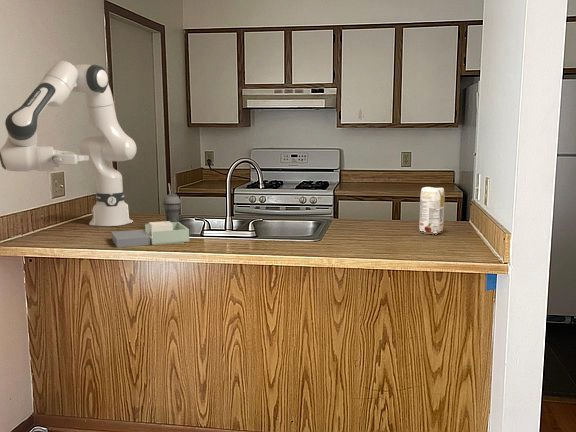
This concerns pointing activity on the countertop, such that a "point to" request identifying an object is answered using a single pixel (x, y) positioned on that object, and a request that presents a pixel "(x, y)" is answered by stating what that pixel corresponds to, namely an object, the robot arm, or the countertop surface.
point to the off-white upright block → (159, 227)
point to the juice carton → (431, 209)
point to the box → (169, 235)
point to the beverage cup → (172, 207)
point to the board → (130, 238)
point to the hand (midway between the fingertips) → (88, 157)
